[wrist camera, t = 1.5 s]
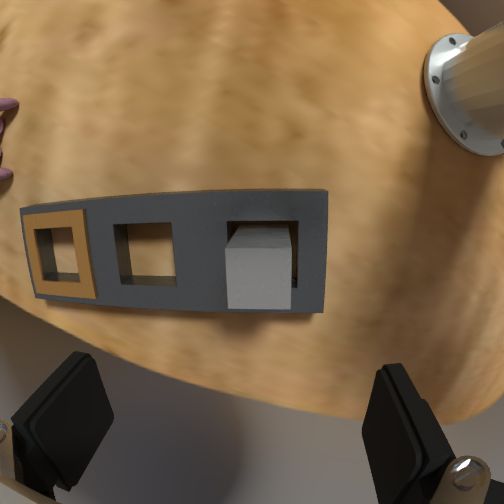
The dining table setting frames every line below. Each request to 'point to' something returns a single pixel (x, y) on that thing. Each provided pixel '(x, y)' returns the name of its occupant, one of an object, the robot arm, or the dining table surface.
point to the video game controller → (3, 105)
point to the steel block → (259, 267)
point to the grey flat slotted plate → (184, 244)
